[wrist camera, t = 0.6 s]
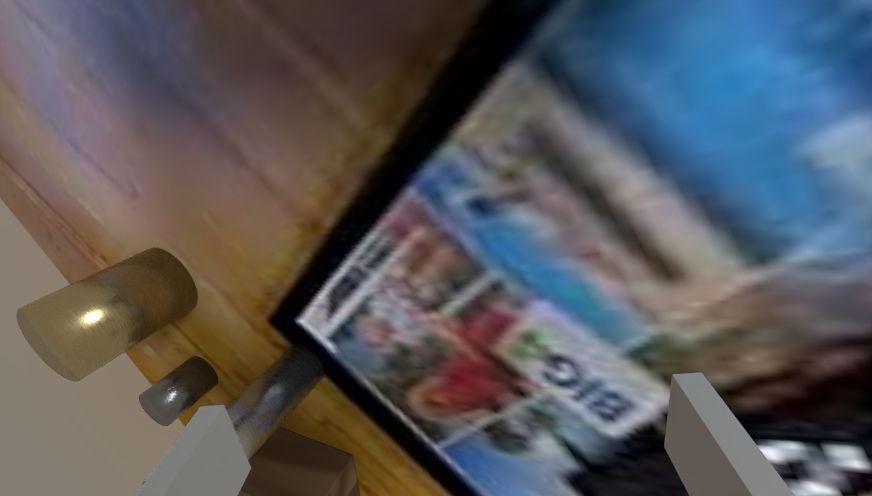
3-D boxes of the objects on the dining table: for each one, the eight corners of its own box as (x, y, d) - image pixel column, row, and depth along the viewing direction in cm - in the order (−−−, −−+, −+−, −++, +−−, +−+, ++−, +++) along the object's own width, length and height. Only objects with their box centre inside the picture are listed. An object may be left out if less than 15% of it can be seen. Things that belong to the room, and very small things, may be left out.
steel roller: (283, 341, 33) (133, 472, 24) (320, 351, 32) (178, 495, 22) (291, 375, 35) (155, 512, 25) (327, 386, 34) (197, 535, 24)
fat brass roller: (133, 242, 36) (2, 299, 29) (184, 253, 34) (56, 317, 26) (157, 303, 39) (43, 368, 31) (205, 316, 36) (95, 391, 29)
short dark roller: (185, 352, 41) (133, 389, 36) (212, 361, 39) (162, 400, 35) (195, 380, 42) (147, 418, 38) (222, 390, 41) (175, 430, 37)
